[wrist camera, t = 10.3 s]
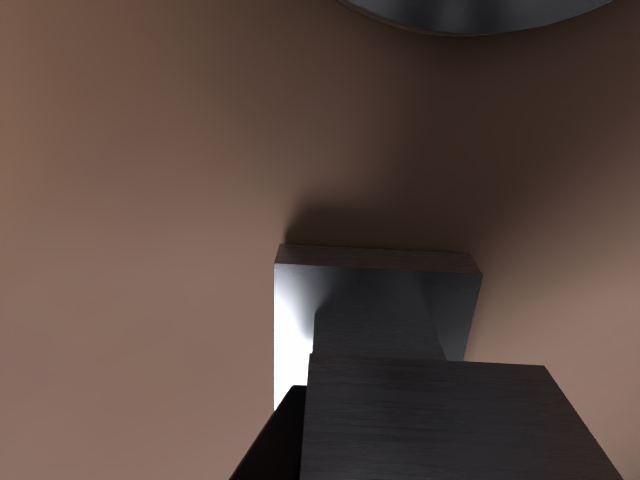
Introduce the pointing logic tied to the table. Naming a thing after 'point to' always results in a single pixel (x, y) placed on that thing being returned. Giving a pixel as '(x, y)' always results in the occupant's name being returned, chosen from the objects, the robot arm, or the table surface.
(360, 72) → the table surface
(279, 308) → the grey stepped block
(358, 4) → the chuck base
